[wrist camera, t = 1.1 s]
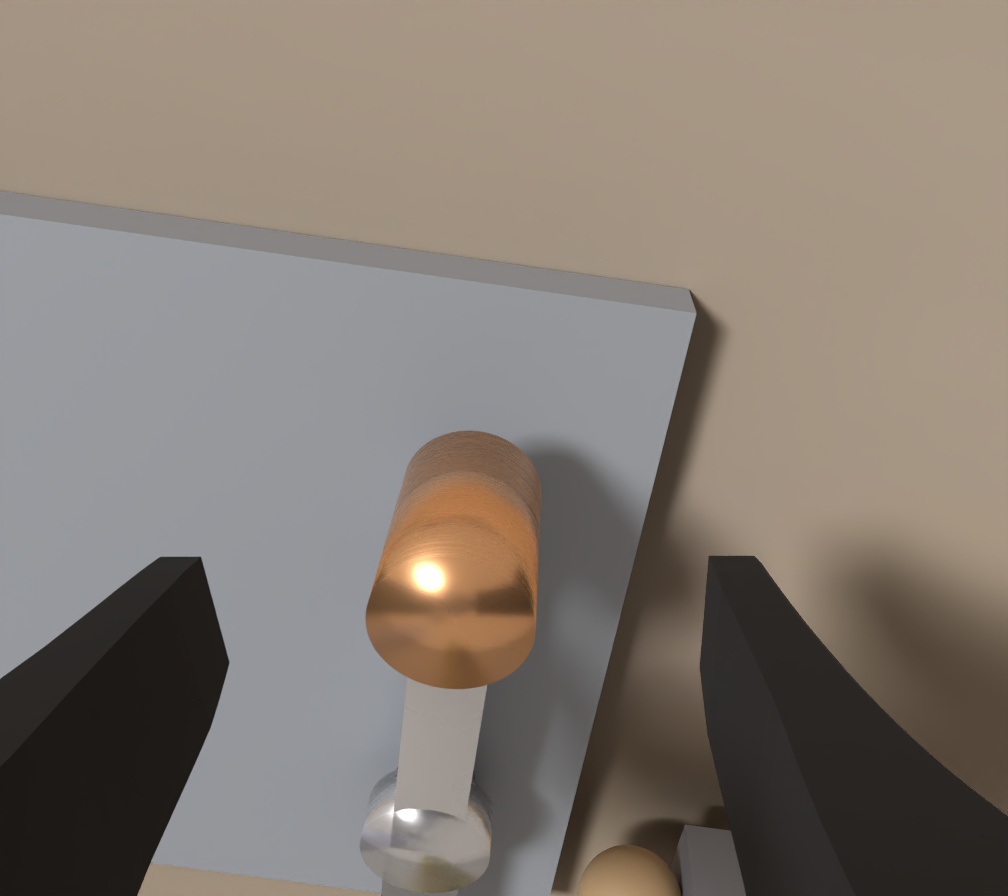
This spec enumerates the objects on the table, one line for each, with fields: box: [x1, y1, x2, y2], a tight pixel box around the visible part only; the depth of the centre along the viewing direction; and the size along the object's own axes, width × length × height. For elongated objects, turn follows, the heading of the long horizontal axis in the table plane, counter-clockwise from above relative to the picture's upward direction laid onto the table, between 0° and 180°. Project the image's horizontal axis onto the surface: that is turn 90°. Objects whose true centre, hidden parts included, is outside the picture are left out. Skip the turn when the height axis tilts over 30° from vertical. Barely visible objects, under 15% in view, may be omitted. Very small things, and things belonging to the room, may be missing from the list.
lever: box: [360, 431, 541, 896], centre depth 18 cm, size 15×3×5 cm, turn 173°
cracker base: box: [0, 191, 746, 896], centre depth 20 cm, size 18×20×4 cm
